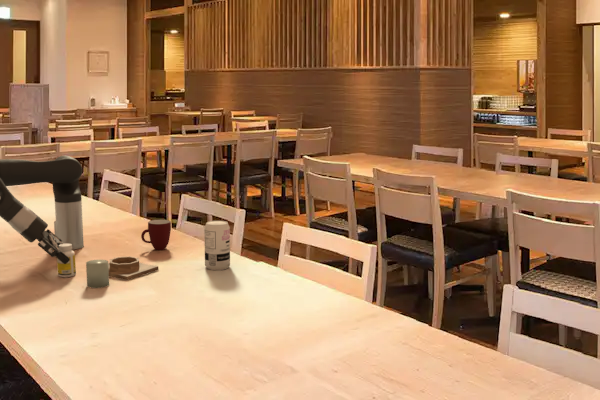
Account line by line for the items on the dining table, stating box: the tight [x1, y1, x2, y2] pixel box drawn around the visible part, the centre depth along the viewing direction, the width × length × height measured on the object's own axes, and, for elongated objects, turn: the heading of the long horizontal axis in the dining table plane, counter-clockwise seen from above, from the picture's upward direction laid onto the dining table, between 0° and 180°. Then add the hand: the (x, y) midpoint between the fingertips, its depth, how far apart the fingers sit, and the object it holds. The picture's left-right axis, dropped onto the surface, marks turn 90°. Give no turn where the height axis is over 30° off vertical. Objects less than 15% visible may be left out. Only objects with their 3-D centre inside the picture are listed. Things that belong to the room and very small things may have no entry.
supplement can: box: [203, 220, 231, 271], centre depth 231 cm, size 8×8×15 cm
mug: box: [141, 219, 172, 251], centre depth 254 cm, size 11×8×10 cm
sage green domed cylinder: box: [85, 259, 110, 289], centre depth 211 cm, size 6×6×7 cm
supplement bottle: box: [56, 243, 77, 278], centre depth 221 cm, size 5×5×10 cm
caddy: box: [108, 255, 159, 281], centre depth 226 cm, size 16×14×4 cm
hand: (68, 258), depth 221 cm, fingers open, 8 cm apart
